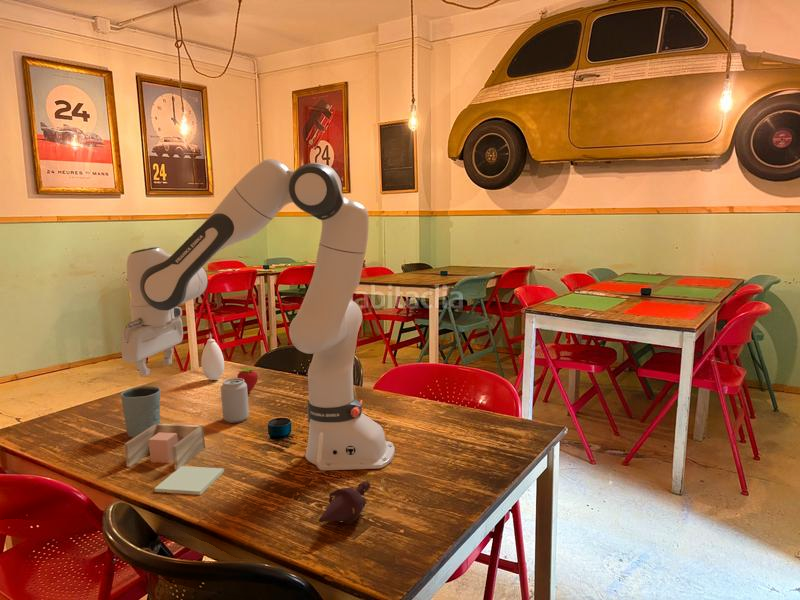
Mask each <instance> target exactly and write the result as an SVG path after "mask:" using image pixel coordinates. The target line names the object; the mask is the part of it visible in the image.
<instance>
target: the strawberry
mask: <svg viewBox="0 0 800 600" xmlns="http://www.w3.org/2000/svg"><path fill="white" fill-rule="evenodd" d="M244 367H245V368H242V370H238V373H237V377H236V378H242V379H244V382H245V383H246V384H247V393H250V392H252V390H253V389H254V387H255V386H256V385H257V383H258V379H259V376H258V373H256V371H255V369H254V368H251V367H249V368H247V366H246V365H244Z"/></svg>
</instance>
